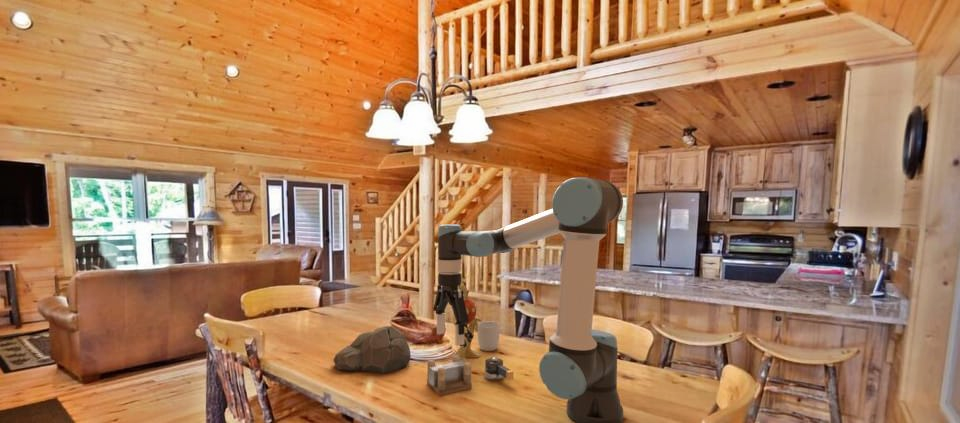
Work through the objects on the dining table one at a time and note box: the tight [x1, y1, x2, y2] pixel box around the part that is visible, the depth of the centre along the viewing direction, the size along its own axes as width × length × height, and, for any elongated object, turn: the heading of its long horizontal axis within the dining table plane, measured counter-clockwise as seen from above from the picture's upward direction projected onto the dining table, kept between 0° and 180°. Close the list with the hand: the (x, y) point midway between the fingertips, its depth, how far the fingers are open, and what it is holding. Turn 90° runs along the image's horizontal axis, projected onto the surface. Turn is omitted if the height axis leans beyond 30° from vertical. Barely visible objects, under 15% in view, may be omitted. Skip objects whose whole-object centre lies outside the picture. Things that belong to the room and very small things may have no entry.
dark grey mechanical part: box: [484, 356, 514, 381], centre depth 139 cm, size 13×6×4 cm, turn 31°
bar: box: [429, 360, 466, 387], centre depth 134 cm, size 4×12×5 cm, turn 120°
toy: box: [453, 282, 483, 363], centre depth 154 cm, size 23×9×30 cm, turn 168°
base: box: [484, 370, 504, 382], centre depth 142 cm, size 6×6×2 cm
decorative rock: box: [333, 325, 412, 374], centre depth 154 cm, size 27×22×15 cm
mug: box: [476, 320, 501, 352], centre depth 173 cm, size 13×9×10 cm
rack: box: [426, 354, 473, 396], centre depth 134 cm, size 10×11×8 cm
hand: (450, 339), depth 134 cm, fingers open, 13 cm apart
